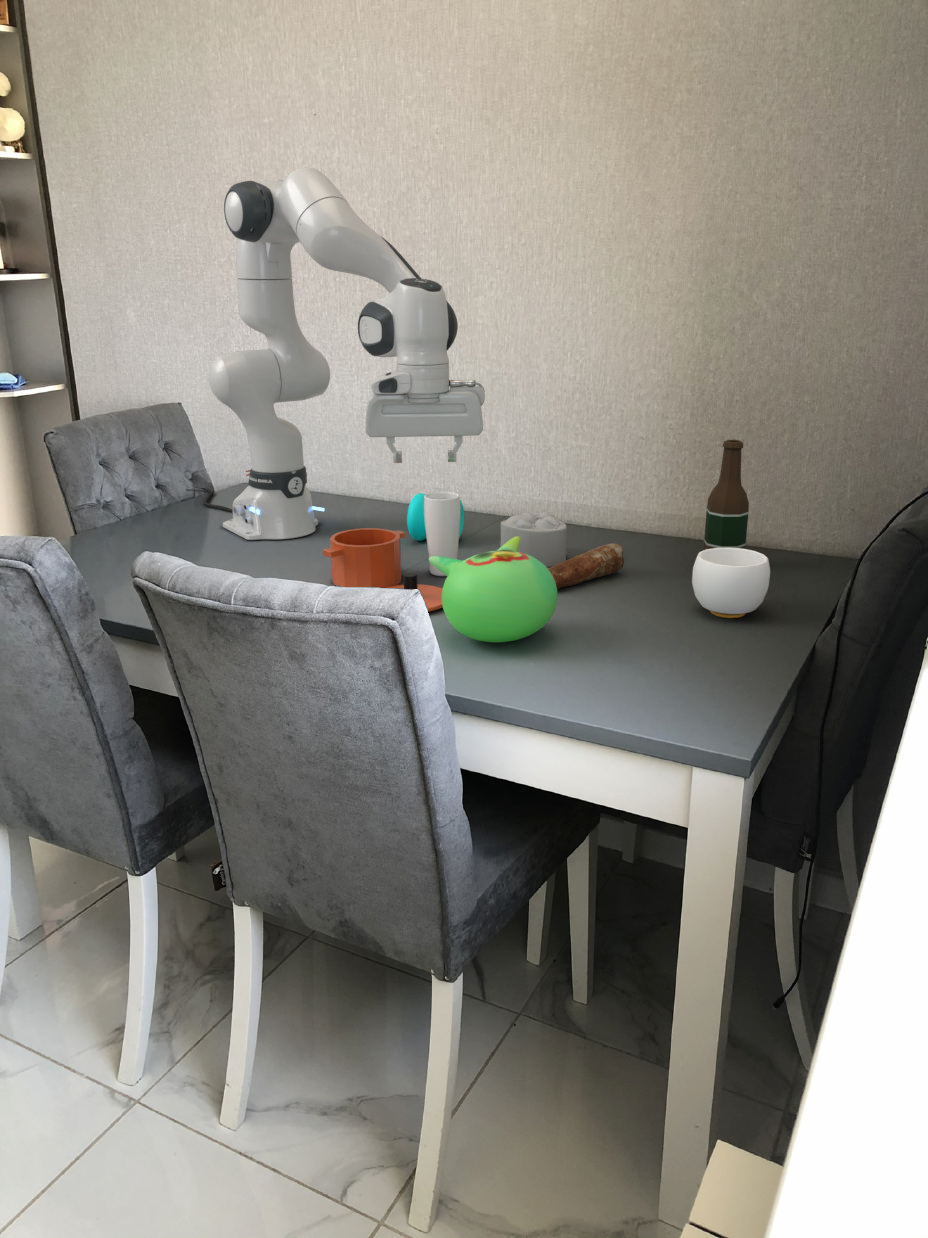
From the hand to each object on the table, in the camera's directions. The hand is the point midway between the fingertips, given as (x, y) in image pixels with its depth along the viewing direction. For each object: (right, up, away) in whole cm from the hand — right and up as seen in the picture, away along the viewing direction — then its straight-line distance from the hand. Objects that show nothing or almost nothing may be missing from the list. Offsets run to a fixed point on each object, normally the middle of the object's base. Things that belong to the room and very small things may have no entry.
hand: (425, 461), depth 168 cm
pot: (-11, -20, +11) cm, 26 cm away
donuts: (+1, -11, +37) cm, 38 cm away
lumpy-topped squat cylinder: (+21, -16, +24) cm, 35 cm away
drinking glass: (+3, -19, +16) cm, 25 cm away
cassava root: (+28, -21, +9) cm, 36 cm away
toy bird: (+12, -30, -16) cm, 36 cm away
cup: (+51, -26, -7) cm, 58 cm away
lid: (-2, -24, -1) cm, 24 cm away
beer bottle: (+57, -17, +18) cm, 62 cm away
